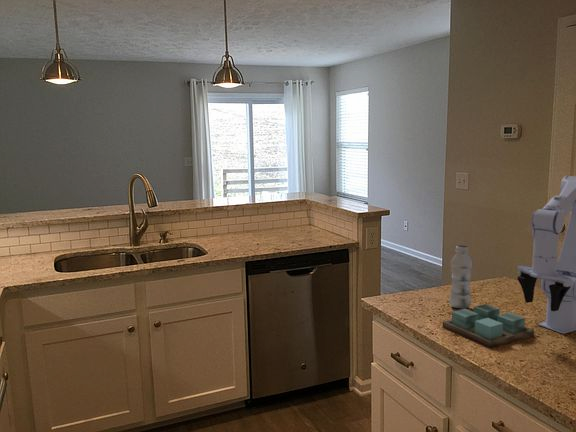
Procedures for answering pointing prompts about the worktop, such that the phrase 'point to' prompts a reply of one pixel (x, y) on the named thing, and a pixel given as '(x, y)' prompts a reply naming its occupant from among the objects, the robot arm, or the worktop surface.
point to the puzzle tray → (485, 341)
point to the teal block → (488, 328)
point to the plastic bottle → (461, 278)
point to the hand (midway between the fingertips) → (541, 306)
